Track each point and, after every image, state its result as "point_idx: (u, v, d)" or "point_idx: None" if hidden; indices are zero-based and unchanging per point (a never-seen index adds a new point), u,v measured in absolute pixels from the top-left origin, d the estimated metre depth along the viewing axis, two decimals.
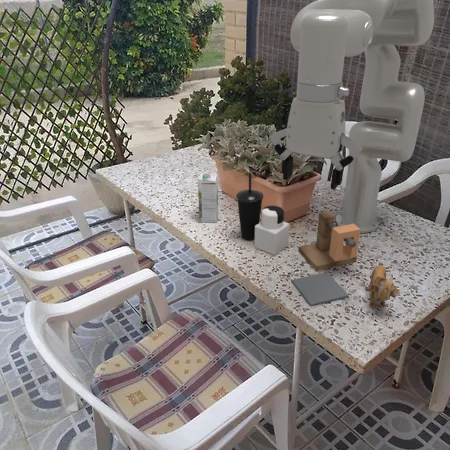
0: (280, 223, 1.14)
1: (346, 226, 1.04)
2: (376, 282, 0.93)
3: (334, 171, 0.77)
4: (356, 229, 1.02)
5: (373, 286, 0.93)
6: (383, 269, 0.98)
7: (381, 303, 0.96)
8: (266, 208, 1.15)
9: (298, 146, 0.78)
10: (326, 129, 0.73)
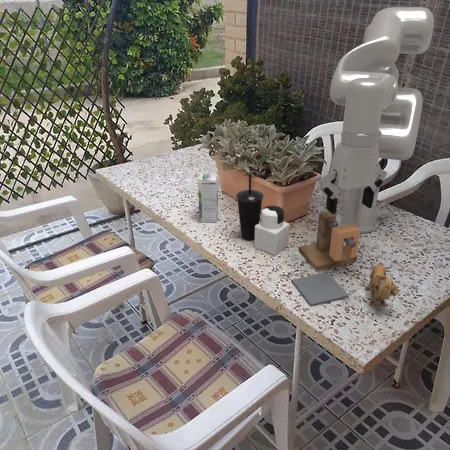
0: (280, 223, 1.14)
1: (346, 226, 1.04)
2: (376, 281, 0.93)
3: (373, 194, 0.98)
4: (356, 229, 1.02)
5: (374, 285, 0.94)
6: (383, 268, 0.99)
7: (381, 302, 0.97)
8: (266, 208, 1.15)
9: (350, 183, 0.94)
10: (372, 164, 0.93)
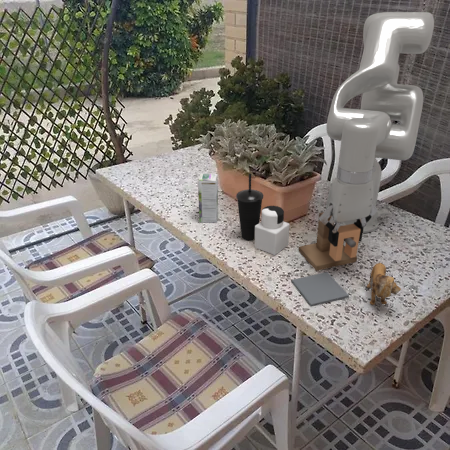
0: (280, 223, 1.14)
1: (346, 226, 1.04)
2: (377, 279, 0.93)
3: (362, 228, 1.02)
4: (356, 229, 1.02)
5: (374, 283, 0.94)
6: (383, 266, 0.99)
7: (382, 300, 0.97)
8: (266, 208, 1.15)
9: (345, 216, 0.98)
10: (367, 198, 0.97)
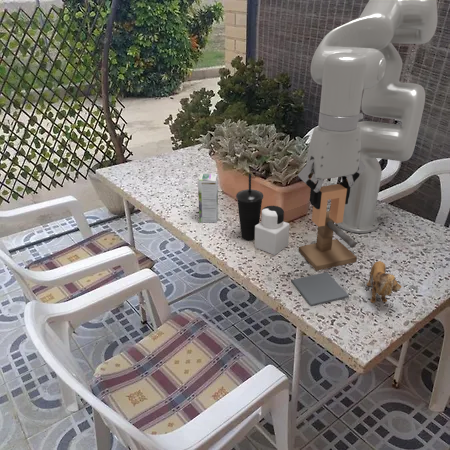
0: (280, 223, 1.14)
1: (330, 186, 0.90)
2: (378, 278, 0.94)
3: (348, 188, 0.89)
4: (342, 189, 0.89)
5: (375, 281, 0.95)
6: (383, 264, 1.00)
7: (382, 298, 0.98)
8: (266, 208, 1.15)
9: (329, 172, 0.84)
10: (353, 150, 0.84)
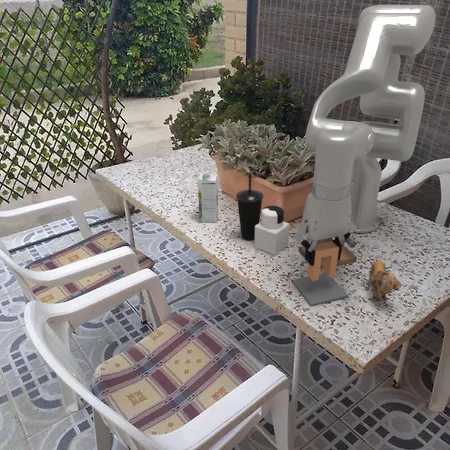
0: (280, 223, 1.14)
1: (324, 244, 0.97)
2: (378, 276, 0.94)
3: (340, 247, 0.96)
4: (334, 247, 0.96)
5: (376, 280, 0.95)
6: (382, 263, 1.00)
7: (383, 297, 0.98)
8: (266, 208, 1.15)
9: (322, 234, 0.91)
10: (345, 215, 0.91)
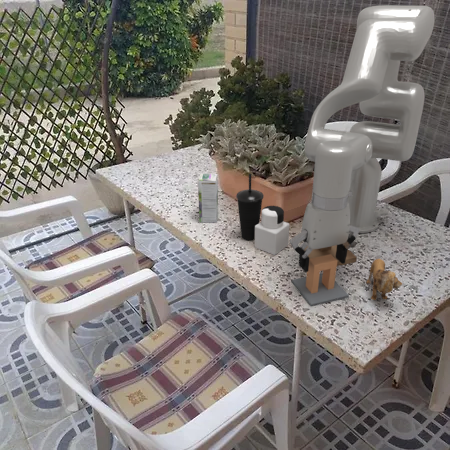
0: (280, 223, 1.14)
1: (322, 257, 0.99)
2: (378, 275, 0.95)
3: (345, 250, 0.97)
4: (333, 261, 0.98)
5: (376, 279, 0.95)
6: (382, 262, 1.01)
7: (383, 295, 0.99)
8: (266, 208, 1.15)
9: (321, 243, 0.93)
10: (343, 224, 0.92)
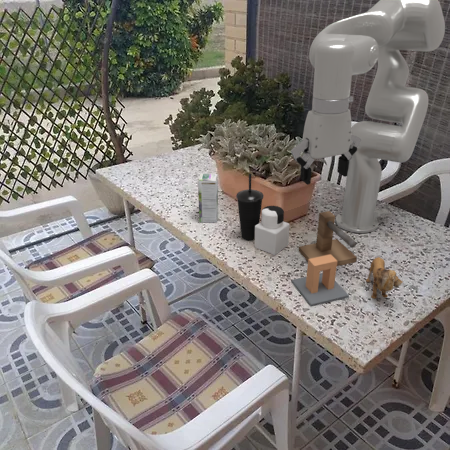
0: (280, 223, 1.14)
1: (322, 257, 0.99)
2: (379, 274, 0.95)
3: (347, 162, 0.96)
4: (333, 261, 0.98)
5: (376, 277, 0.96)
6: (382, 260, 1.01)
7: (383, 294, 0.99)
8: (266, 208, 1.15)
9: (323, 152, 0.91)
10: (345, 131, 0.91)
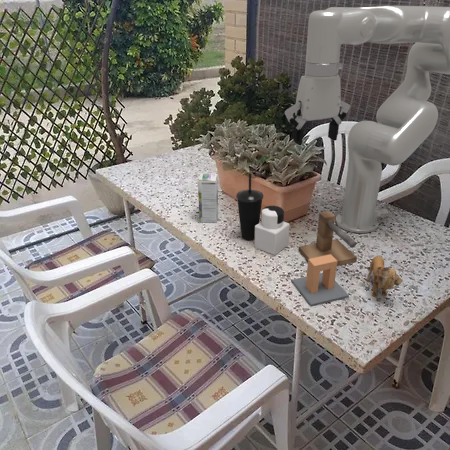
0: (280, 223, 1.14)
1: (322, 257, 0.99)
2: (379, 272, 0.96)
3: (337, 126, 1.04)
4: (333, 261, 0.98)
5: (377, 276, 0.96)
6: (381, 259, 1.02)
7: (383, 292, 1.00)
8: (266, 208, 1.15)
9: (314, 114, 1.00)
10: (334, 95, 0.99)
